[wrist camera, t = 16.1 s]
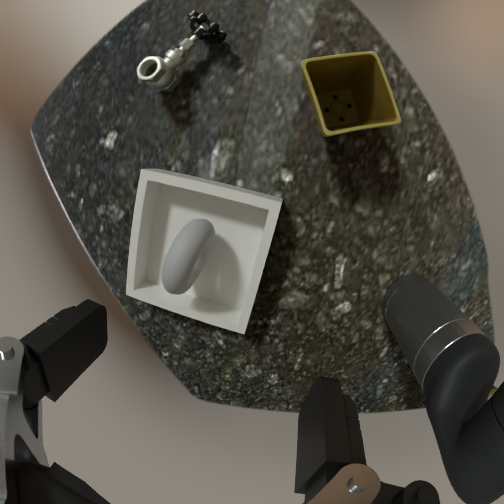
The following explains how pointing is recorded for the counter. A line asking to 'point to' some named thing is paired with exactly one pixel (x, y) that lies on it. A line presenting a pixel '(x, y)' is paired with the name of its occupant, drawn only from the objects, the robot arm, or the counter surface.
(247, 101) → the counter surface
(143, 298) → the tray
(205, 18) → the valve
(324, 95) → the flower pot
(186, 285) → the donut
